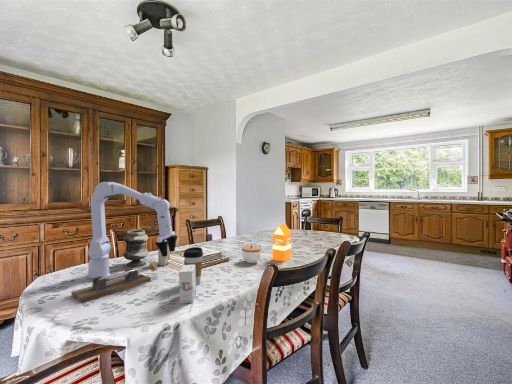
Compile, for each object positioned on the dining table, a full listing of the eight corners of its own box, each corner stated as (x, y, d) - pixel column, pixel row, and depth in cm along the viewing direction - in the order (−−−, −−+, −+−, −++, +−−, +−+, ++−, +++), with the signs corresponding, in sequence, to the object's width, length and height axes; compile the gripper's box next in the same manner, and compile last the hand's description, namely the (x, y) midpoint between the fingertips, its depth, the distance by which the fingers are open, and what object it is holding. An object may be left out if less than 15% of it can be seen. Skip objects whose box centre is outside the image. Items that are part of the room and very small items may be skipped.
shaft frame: (71, 295, 103) (71, 281, 103) (138, 276, 125) (138, 264, 125) (82, 302, 97) (81, 287, 97) (150, 281, 119) (150, 268, 119)
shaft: (96, 285, 108) (96, 274, 108) (152, 269, 127) (152, 260, 127) (101, 287, 105) (101, 276, 105) (157, 271, 125) (157, 262, 125)
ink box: (183, 293, 106) (183, 264, 105) (196, 293, 106) (196, 263, 106) (178, 303, 97) (178, 271, 97) (192, 303, 98) (192, 271, 97)
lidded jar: (264, 262, 148) (265, 245, 148) (248, 265, 142) (248, 248, 141) (254, 257, 157) (254, 242, 156) (238, 260, 151) (238, 244, 150)
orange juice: (291, 257, 158) (291, 223, 157) (284, 261, 150) (284, 226, 149) (279, 255, 162) (279, 222, 161) (272, 259, 154) (272, 224, 154)
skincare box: (165, 265, 141) (165, 242, 140) (157, 265, 141) (157, 242, 141) (171, 262, 147) (171, 240, 146) (164, 261, 148) (164, 239, 147)
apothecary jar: (133, 269, 135) (133, 233, 134) (118, 265, 140) (118, 231, 140) (153, 263, 145) (153, 230, 144) (138, 259, 151) (138, 228, 150)
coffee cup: (206, 281, 119) (206, 247, 119) (196, 288, 111) (196, 252, 111) (190, 279, 122) (190, 246, 121) (179, 285, 114) (179, 250, 113)
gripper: (165, 227, 118) (169, 257, 119) (179, 221, 132) (183, 248, 133) (150, 228, 119) (154, 258, 120) (166, 223, 133) (169, 249, 134)
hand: (168, 253), depth 126 cm, fingers open, 7 cm apart
